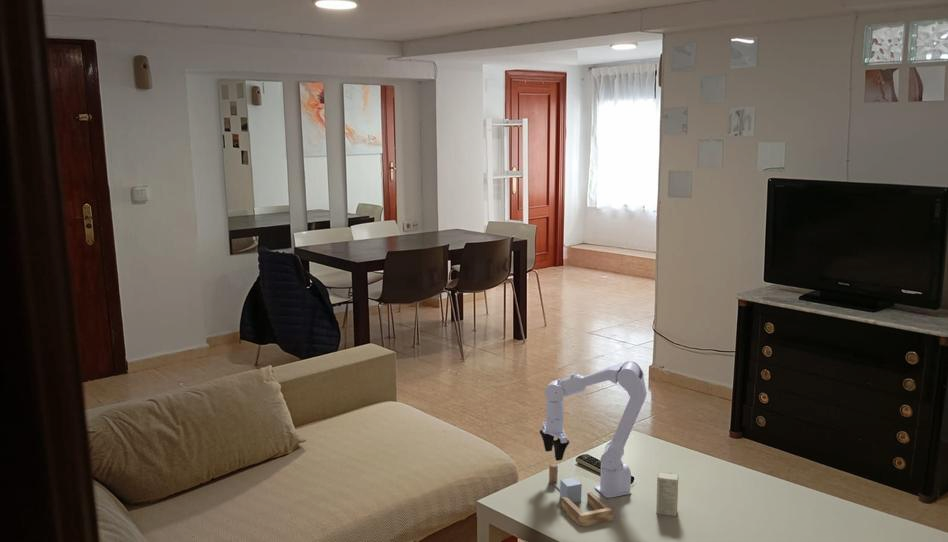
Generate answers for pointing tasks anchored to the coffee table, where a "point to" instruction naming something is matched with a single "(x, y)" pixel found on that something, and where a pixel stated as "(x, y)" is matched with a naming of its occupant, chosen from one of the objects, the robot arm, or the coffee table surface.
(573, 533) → the coffee table surface
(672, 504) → the skincare box
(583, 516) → the two-pronged wooden block
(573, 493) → the block with pull
